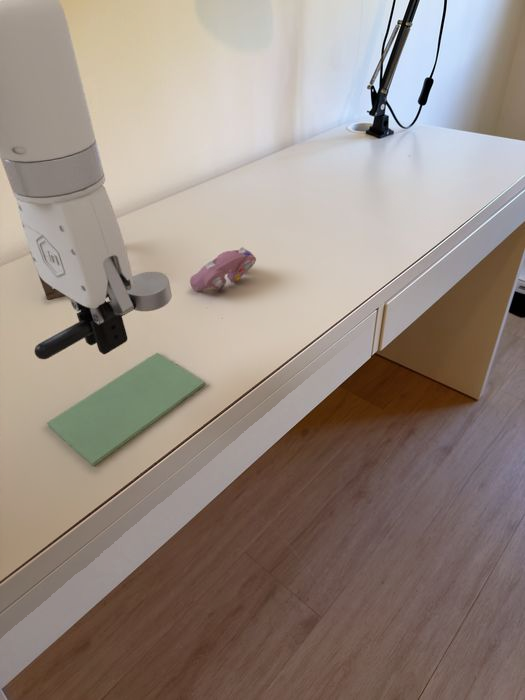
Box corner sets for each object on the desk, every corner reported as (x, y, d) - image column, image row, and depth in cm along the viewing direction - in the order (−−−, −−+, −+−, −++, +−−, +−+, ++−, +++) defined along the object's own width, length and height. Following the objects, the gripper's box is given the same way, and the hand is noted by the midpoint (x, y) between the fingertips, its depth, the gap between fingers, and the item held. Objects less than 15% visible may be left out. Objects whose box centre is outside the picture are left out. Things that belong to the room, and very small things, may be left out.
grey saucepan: (52, 372, 49) (45, 355, 47) (26, 351, 51) (18, 335, 50) (180, 296, 57) (178, 280, 56) (153, 282, 60) (149, 267, 59)
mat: (93, 466, 55) (92, 463, 54) (47, 425, 59) (46, 422, 59) (205, 385, 64) (204, 381, 63) (157, 355, 68) (157, 352, 68)
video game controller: (203, 306, 79) (211, 278, 74) (186, 285, 81) (192, 255, 75) (253, 282, 84) (264, 254, 78) (236, 261, 85) (246, 232, 80)
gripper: (-31, 163, 46) (36, 331, 57) (67, 208, 37) (123, 394, 49) (46, 139, 50) (94, 301, 62) (150, 174, 41) (184, 354, 53)
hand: (107, 341), depth 55 cm, fingers closed on grey saucepan, 1 cm apart
